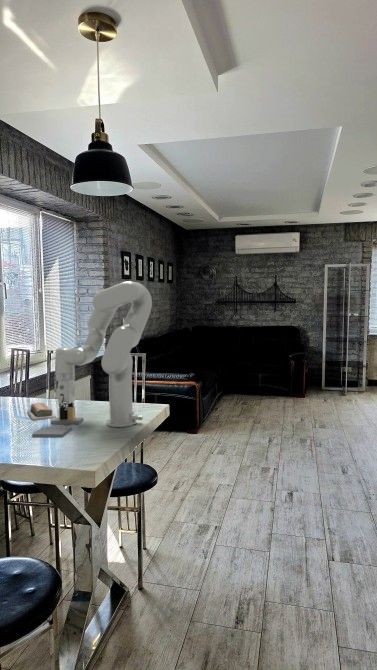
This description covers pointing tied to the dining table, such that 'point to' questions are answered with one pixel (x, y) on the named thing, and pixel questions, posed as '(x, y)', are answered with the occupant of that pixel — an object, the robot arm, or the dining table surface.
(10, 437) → the dining table surface
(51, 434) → the ticket board
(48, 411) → the packaged product
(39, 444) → the dining table surface
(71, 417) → the yellow block
